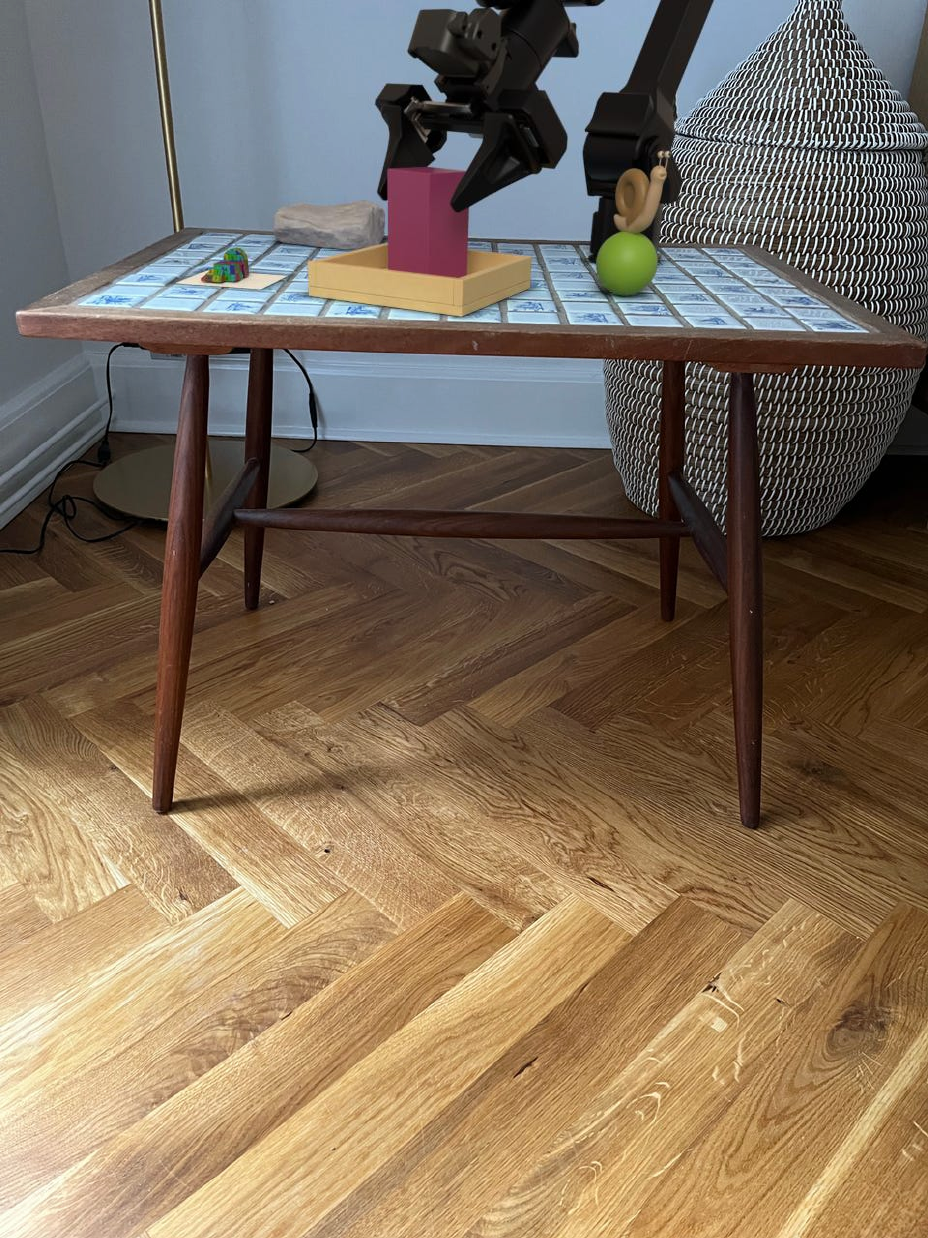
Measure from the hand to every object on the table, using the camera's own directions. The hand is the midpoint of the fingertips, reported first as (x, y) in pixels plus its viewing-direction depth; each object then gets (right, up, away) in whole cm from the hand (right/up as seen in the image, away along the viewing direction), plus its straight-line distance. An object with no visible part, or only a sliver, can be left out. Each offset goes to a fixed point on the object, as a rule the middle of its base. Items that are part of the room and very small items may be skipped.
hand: (416, 202), depth 80 cm
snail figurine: (+19, -6, +6) cm, 21 cm away
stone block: (-11, +7, +27) cm, 30 cm away
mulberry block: (+1, -5, +5) cm, 7 cm away
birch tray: (0, -6, +4) cm, 7 cm away
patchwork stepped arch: (-17, -4, +6) cm, 19 cm away
